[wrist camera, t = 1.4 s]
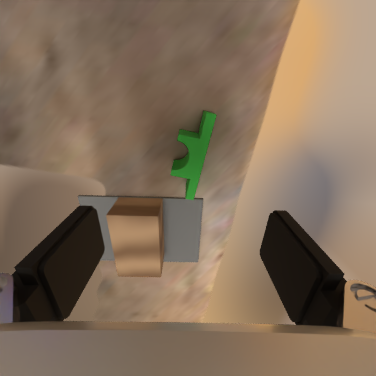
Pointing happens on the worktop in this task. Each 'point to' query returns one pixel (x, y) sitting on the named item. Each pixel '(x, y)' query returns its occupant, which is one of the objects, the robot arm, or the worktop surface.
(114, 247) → the base brick
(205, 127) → the green notched block
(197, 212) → the mat
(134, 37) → the worktop surface
